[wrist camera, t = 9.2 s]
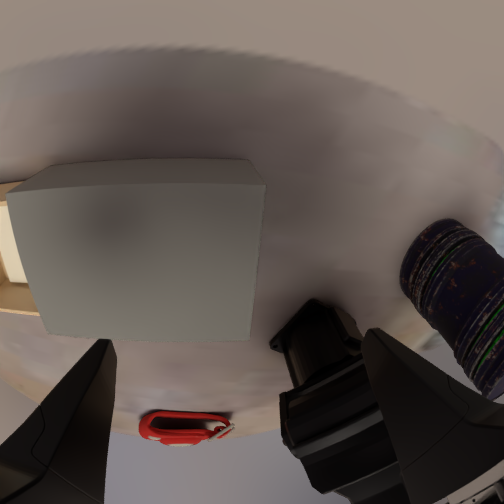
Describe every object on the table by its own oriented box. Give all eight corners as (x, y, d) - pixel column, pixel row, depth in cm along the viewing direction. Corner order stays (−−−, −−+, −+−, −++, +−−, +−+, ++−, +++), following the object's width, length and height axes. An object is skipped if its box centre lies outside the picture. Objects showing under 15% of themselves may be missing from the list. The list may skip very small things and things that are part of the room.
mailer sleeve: (248, 159, 19) (266, 185, 14) (238, 286, 23) (249, 340, 18) (51, 165, 16) (5, 193, 11) (72, 284, 21) (47, 334, 16)
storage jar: (478, 233, 25) (568, 312, 13) (436, 304, 30) (506, 394, 17) (430, 203, 22) (555, 301, 10) (381, 292, 27) (465, 413, 14)
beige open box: (137, 160, 17) (82, 218, 9) (148, 290, 22) (129, 391, 14) (-21, 178, 14) (-99, 231, 6) (6, 284, 19) (-41, 358, 11)
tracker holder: (189, 448, 36) (130, 445, 30) (186, 422, 39) (128, 416, 33) (245, 439, 31) (177, 440, 25) (240, 407, 34) (173, 401, 28)
